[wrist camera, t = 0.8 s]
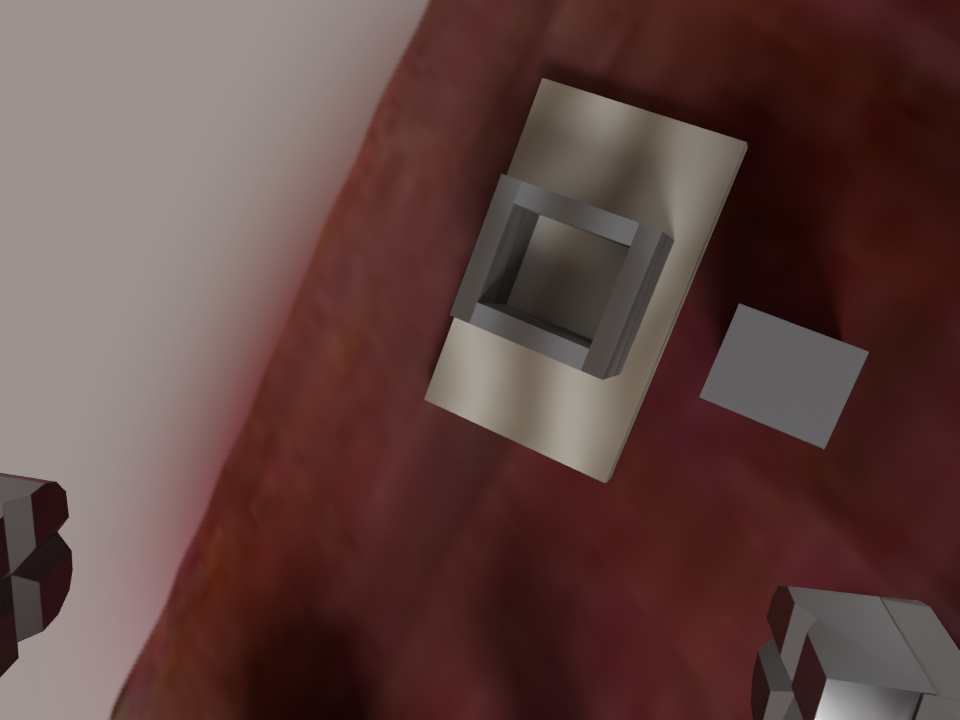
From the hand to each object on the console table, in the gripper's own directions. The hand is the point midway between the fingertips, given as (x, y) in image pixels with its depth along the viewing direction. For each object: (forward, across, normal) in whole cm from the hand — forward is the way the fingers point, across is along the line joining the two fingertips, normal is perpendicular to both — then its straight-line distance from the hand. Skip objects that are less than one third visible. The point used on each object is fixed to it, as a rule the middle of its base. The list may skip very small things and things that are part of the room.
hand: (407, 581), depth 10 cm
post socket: (+40, -3, +6) cm, 41 cm away
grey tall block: (+36, -14, +8) cm, 40 cm away
